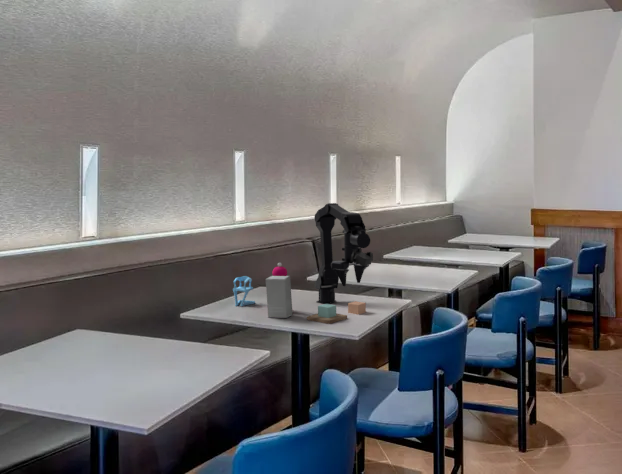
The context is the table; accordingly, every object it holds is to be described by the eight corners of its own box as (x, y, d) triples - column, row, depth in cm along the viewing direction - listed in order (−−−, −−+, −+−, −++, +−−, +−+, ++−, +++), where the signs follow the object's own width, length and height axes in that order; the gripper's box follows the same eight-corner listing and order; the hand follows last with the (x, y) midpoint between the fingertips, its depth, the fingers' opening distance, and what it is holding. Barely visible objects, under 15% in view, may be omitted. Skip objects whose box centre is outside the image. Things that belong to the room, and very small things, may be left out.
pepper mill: (292, 310, 247) (291, 261, 245) (284, 313, 240) (283, 264, 238) (276, 308, 250) (276, 261, 248) (268, 312, 243) (267, 263, 241)
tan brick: (348, 313, 241) (348, 303, 241) (355, 311, 245) (355, 301, 244) (358, 314, 238) (358, 304, 237) (365, 312, 242) (365, 302, 241)
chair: (230, 305, 257) (229, 277, 256) (239, 301, 265) (239, 274, 263) (246, 307, 254) (245, 278, 253) (255, 303, 262) (254, 275, 260)
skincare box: (292, 315, 238) (292, 275, 236) (286, 319, 231) (285, 278, 230) (273, 313, 241) (272, 274, 239) (265, 317, 234) (265, 277, 232)
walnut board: (306, 319, 230) (306, 316, 230) (324, 314, 239) (324, 311, 238) (329, 323, 223) (329, 320, 223) (347, 318, 231) (347, 315, 231)
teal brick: (317, 316, 230) (317, 305, 230) (326, 313, 234) (326, 303, 234) (328, 318, 227) (327, 307, 227) (336, 315, 231) (336, 305, 231)
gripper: (353, 249, 224) (352, 290, 226) (382, 244, 238) (381, 283, 240) (330, 247, 232) (330, 286, 234) (359, 242, 246) (359, 280, 247)
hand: (351, 284), depth 238 cm, fingers open, 9 cm apart
